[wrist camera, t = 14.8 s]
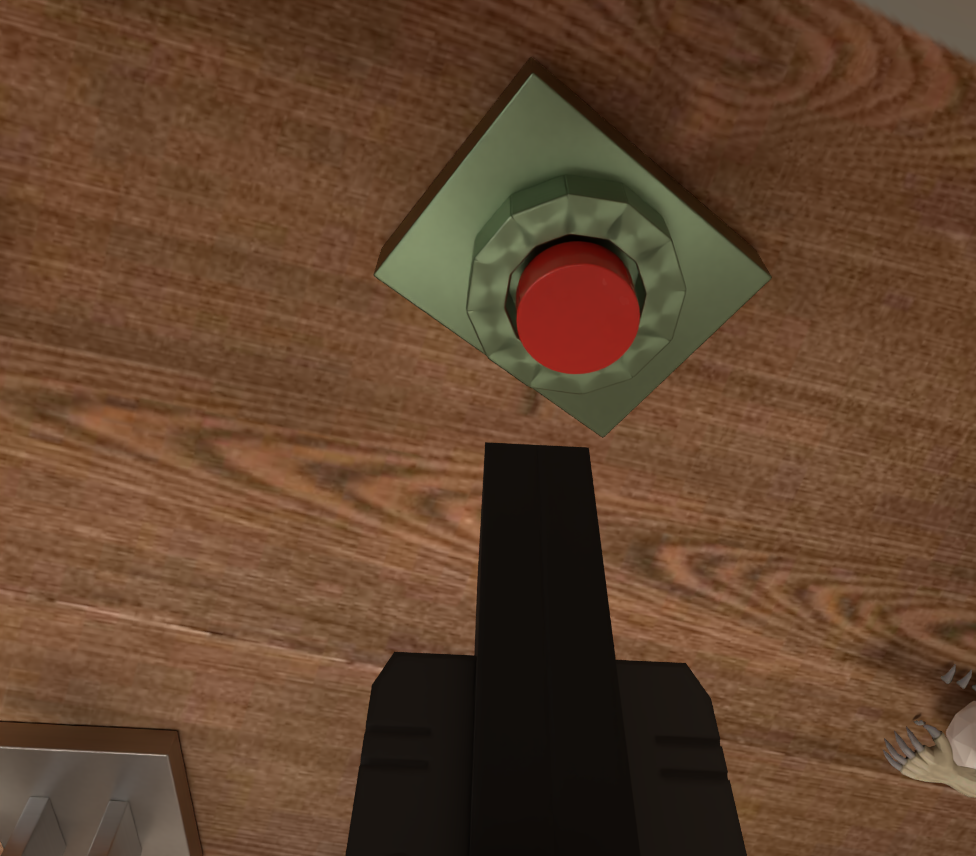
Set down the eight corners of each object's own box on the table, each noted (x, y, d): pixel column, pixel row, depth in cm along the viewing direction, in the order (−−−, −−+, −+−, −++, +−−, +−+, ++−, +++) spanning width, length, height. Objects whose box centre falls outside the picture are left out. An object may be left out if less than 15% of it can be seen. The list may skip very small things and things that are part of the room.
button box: (380, 249, 31) (364, 300, 28) (531, 55, 28) (534, 86, 24) (598, 406, 34) (607, 468, 31) (757, 251, 31) (787, 302, 27)
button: (492, 303, 28) (491, 329, 27) (569, 216, 27) (572, 239, 25) (579, 367, 29) (583, 395, 28) (658, 287, 28) (666, 313, 26)
